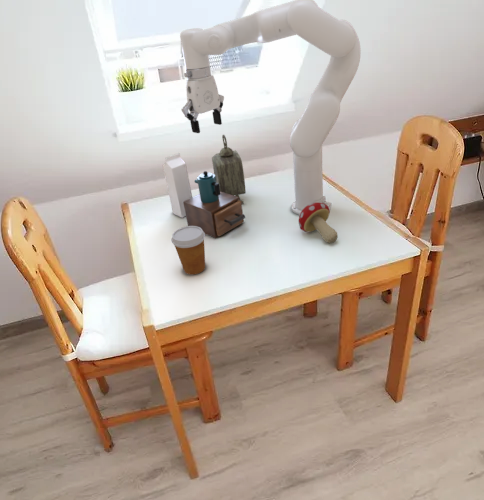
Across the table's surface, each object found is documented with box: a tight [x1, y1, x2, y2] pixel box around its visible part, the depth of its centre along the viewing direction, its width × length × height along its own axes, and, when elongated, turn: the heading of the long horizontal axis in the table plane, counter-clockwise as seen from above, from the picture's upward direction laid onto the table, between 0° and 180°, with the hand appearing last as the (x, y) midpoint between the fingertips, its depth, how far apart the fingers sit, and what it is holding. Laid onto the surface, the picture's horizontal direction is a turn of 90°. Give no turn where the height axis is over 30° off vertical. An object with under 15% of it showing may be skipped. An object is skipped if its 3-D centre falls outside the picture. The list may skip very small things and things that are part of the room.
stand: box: [183, 191, 240, 239], centre depth 149 cm, size 14×13×10 cm
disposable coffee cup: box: [171, 225, 206, 276], centre depth 126 cm, size 10×10×12 cm
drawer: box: [213, 201, 246, 237], centre depth 146 cm, size 17×11×8 cm
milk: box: [162, 152, 193, 219], centre depth 156 cm, size 6×6×22 cm
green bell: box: [211, 134, 247, 205], centre depth 160 cm, size 14×9×25 cm, turn 13°
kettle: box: [194, 170, 220, 203], centre depth 144 cm, size 11×6×10 cm, turn 47°
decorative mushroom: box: [298, 202, 339, 244], centre depth 136 cm, size 11×11×15 cm
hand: (207, 128), depth 145 cm, fingers open, 9 cm apart
